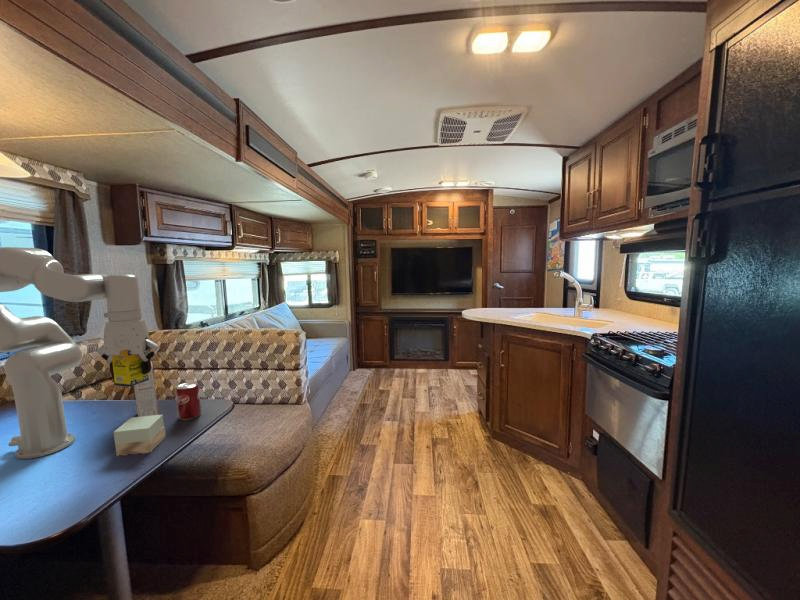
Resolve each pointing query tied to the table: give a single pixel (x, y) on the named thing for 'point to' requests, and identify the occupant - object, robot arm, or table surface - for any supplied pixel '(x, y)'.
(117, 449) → the tower base block
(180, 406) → the soda can
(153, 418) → the tower top block
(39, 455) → the robot arm
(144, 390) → the cracker box
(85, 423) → the table surface
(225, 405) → the table surface
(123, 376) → the supplement box
